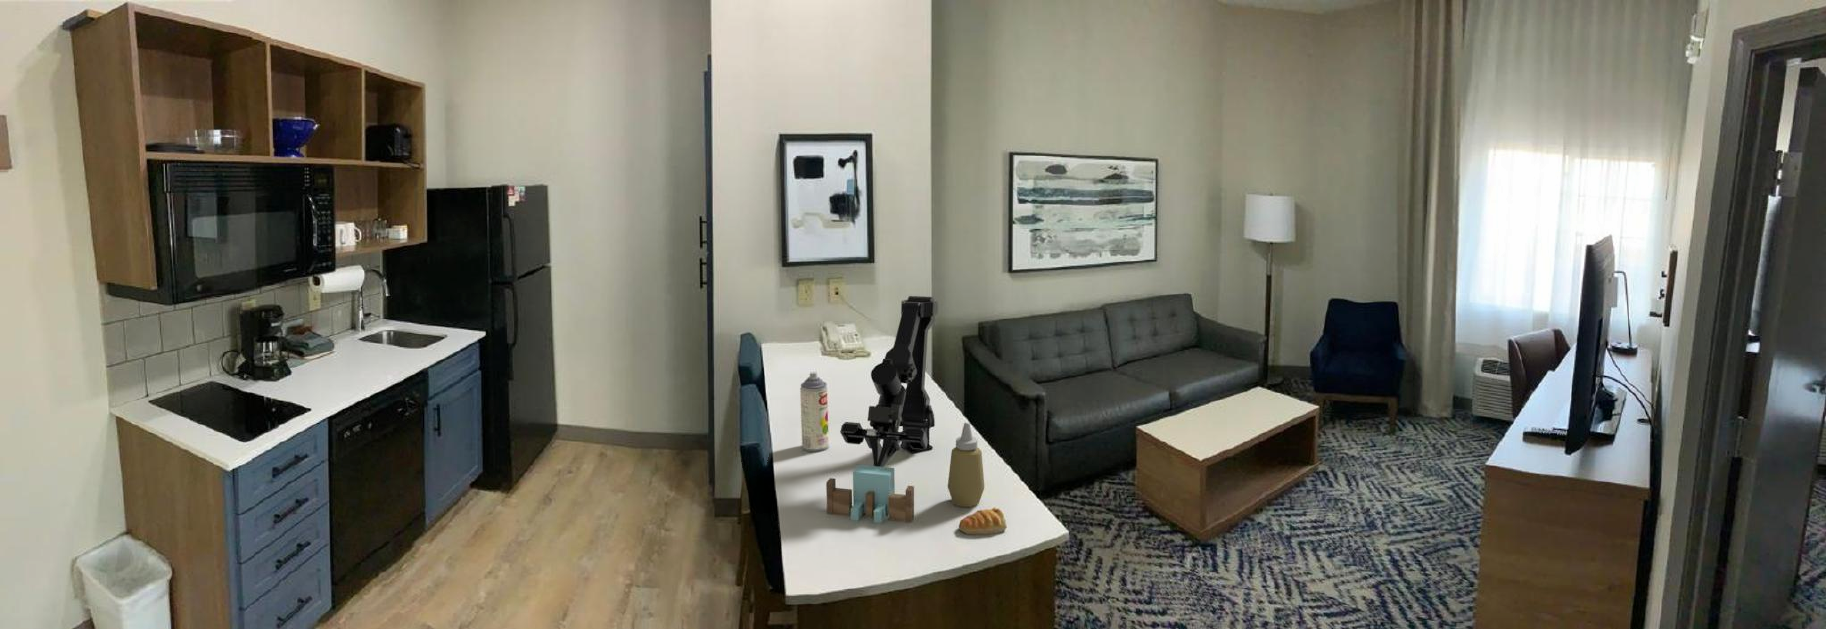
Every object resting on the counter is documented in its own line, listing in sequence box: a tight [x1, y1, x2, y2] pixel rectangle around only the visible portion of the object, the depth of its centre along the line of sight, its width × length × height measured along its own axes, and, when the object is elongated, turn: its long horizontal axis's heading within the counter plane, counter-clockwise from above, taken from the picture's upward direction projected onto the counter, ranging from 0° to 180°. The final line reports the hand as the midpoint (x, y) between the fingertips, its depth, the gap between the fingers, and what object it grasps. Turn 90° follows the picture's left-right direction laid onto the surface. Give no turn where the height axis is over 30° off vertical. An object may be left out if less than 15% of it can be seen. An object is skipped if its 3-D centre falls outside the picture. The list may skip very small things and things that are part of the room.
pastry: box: [958, 507, 1008, 536], centre depth 166 cm, size 9×7×4 cm
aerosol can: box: [799, 371, 830, 453], centre depth 210 cm, size 7×7×20 cm
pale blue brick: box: [850, 464, 896, 524], centre depth 173 cm, size 8×8×9 cm
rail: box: [825, 477, 915, 523], centre depth 172 cm, size 2×18×7 cm, turn 76°
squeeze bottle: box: [947, 422, 985, 508], centre depth 177 cm, size 8×8×18 cm
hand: (876, 471), depth 176 cm, fingers closed, pressing on pale blue brick
